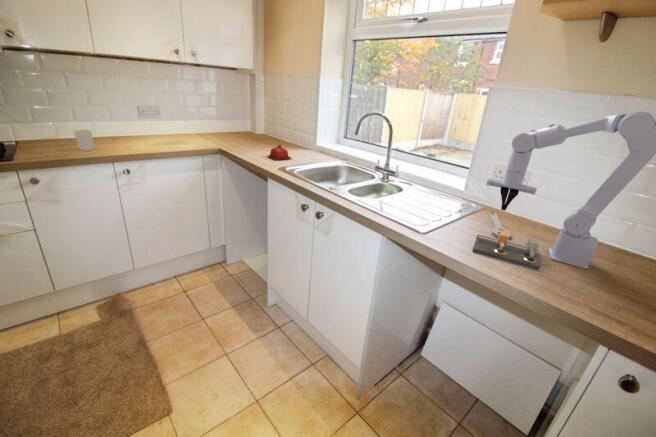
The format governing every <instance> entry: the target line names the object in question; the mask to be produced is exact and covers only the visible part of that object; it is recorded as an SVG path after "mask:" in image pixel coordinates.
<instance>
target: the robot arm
mask: <svg viewBox="0 0 656 437" xmlns="http://www.w3.org/2000/svg"><path fill="white" fill-rule="evenodd" d="M595 132H608V133H612V134H615V133H617V132H618V133H619V134H620V136H621V137H622V138H623V139H624V141H625V142H626V145H627V148H628V151H629V152H628V154H627V155H626V157H624V159H623V160H622V161H621V162H620V163H619V165H618V166H617V167H616V168H615V169H614V170H613V171H612V172H611V173H610V175H609V176H608V177H607V178H606V179H605V180H604V181H603V182H602V184H601V185H600V186H599V187H598V188H597V189H596V191H594V193H593V194H592V195H591V196H590V197H589V198H588V199H587V201H586V202H585V203H584V204H582V206H580V208H577V209H575V210H573V211H572V212H571V213H570V214H569V216H567V217H566V219H564V221H563V226H561V229H560V231H559V232H558V236H557V238H556V241H555V243H554V246H553V248H548V252H549V258H550V259H551V260H553V261H557V262H561V263H563V264H567V265H572V266H575V267H579V268H582V269H586V270H587V269H589V265H590V263H591V261H592V259H593V257H594V255H595V253H596V251H597V248H598V245H599V242H598V241H599V240H598V237H595V236H592V234H591V232H590V231H591V229H592V227H594V225H595V224H596V222H597V218H598V217H599V215H600V214H601V213H603V211H604V210H605V209H606V208H607V207H608V205H610V204H611V203H612V201H613V200H614V199H615V198H616V197H617V196H618V195H619V194H620V193H621V192H622V191H623V190H624V188H626V187H627V185H628V184H629V183H631V181H632V180H633V179H635V177H636V176H637V175H638V174H639V173H640V172H641V171H642V169H644V167H645V166H646V165H647V164H648V163H649V162H650V161H651V160H652V159H653V158H654V157H655V156H656V119H655V118H654V116H653V115H652V114H651V113H649V112H647V111H633V112H630V113H622V114H613V115H605V116H602V117H598V118H596V119H591V120H588V121H585V122H580V123H577V124H573V125H569V126H567V127H566V126H563V125H561V124H559V123H558V124H555V123H551V124H548V126H546V127H543V128H540V129H535V128H533V129H531V130H530V132H521V133H519V134H518V135H516V136H515V137H513V139H512V141H511V146H512V149H511V152H510V155H509V159H508V160H507V165H506V169H505V171H504V175H503V178H502V180H501V179H493V178H487V181H486V184H485V185H486V186H488V187H489V186H491V187H496V188H500V198H501V207H500V210H501V211H506V210H507V209H508V207H509V205H510V204H511V202H512V201H514V199H515V198H516V197H517V196H518V195H519V193H520V192H522V193H525V194H531V195H536V192H537V187H535V186H529V185H527V184H523V181H524V179H525V175H526V172H527V171H528V170H527V169H528V167H529V163H530V161H531V156H532V154H533V150H535V149H537V150H539V149H545V148H548V147H552V146H554V147H555V146H558V145H562V144H563V143H565V141H566V140H567V139H569V138H571V137H577V136H578V137H579V136H581V135H582V136H583V135H587V134H592V133H595Z"/></svg>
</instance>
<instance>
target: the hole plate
mask: <svg viewBox="0 0 656 437" xmlns="http://www.w3.org/2000/svg"><path fill="white" fill-rule="evenodd" d="M497 242H498V238H492V237H489V236H485V235H481V234H477V235H476V238H475V241H474V245H473V247H472V252H473V253H475V254H480V255H484V256H487V257H490V258H493V259H498V260H501V261H505V262H508V263H512V264H515V265H517V266H522V267H526V268H529V269H533V270H536V271H540V268H541V261H540V254H539V246H540V242H539V239H538V238H537V239H536V238H532V237H528V240H527V242H526V245H525V246H523V245H519V244H516V243H511V242H508V241H507V244H506V245H504V248H502V251H500V250H499V249H500V243H497Z"/></svg>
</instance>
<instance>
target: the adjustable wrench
mask: <svg viewBox="0 0 656 437" xmlns="http://www.w3.org/2000/svg"><path fill="white" fill-rule="evenodd" d="M488 216H489V218H490V220H491V223H492V226H493V228H492V230H491V232H490V235H491V236H493V237H494V238H495V239H498V237H499V234H500V231H501V230H502V231H506V232H509V238H508V240H509V239H510V238H511V236H512V232H511V231H509V230H507V229H505V228H503V226H502V224H501V222H500V219H499V217H498V214H497V213H496V212H494V211H489V212H488Z"/></svg>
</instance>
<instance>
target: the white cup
mask: <svg viewBox="0 0 656 437" xmlns="http://www.w3.org/2000/svg"><path fill="white" fill-rule="evenodd" d="M73 134H74V137H75V140H76V144H77V147H78V150H79V151H83V152H84V151H93V150H94V149H95V146H94V138H93V137H94V136H93V132H92V130H90V129H89V130H88V129H76V130H74V131H73Z"/></svg>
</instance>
